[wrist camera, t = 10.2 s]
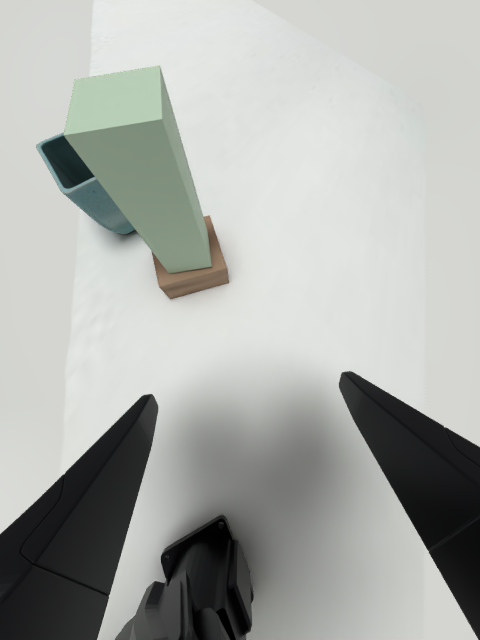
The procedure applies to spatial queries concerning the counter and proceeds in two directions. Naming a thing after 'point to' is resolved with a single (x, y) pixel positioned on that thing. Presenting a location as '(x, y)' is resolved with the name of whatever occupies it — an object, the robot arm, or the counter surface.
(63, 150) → the flower pot
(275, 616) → the counter surface
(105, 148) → the sage pillar
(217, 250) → the walnut block
